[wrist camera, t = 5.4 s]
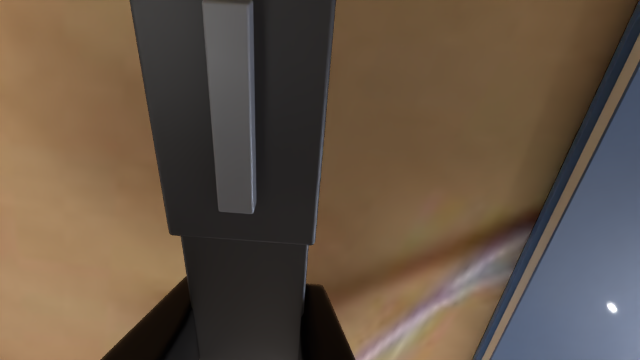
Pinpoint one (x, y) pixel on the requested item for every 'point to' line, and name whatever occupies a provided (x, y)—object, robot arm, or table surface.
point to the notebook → (584, 239)
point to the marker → (239, 157)
